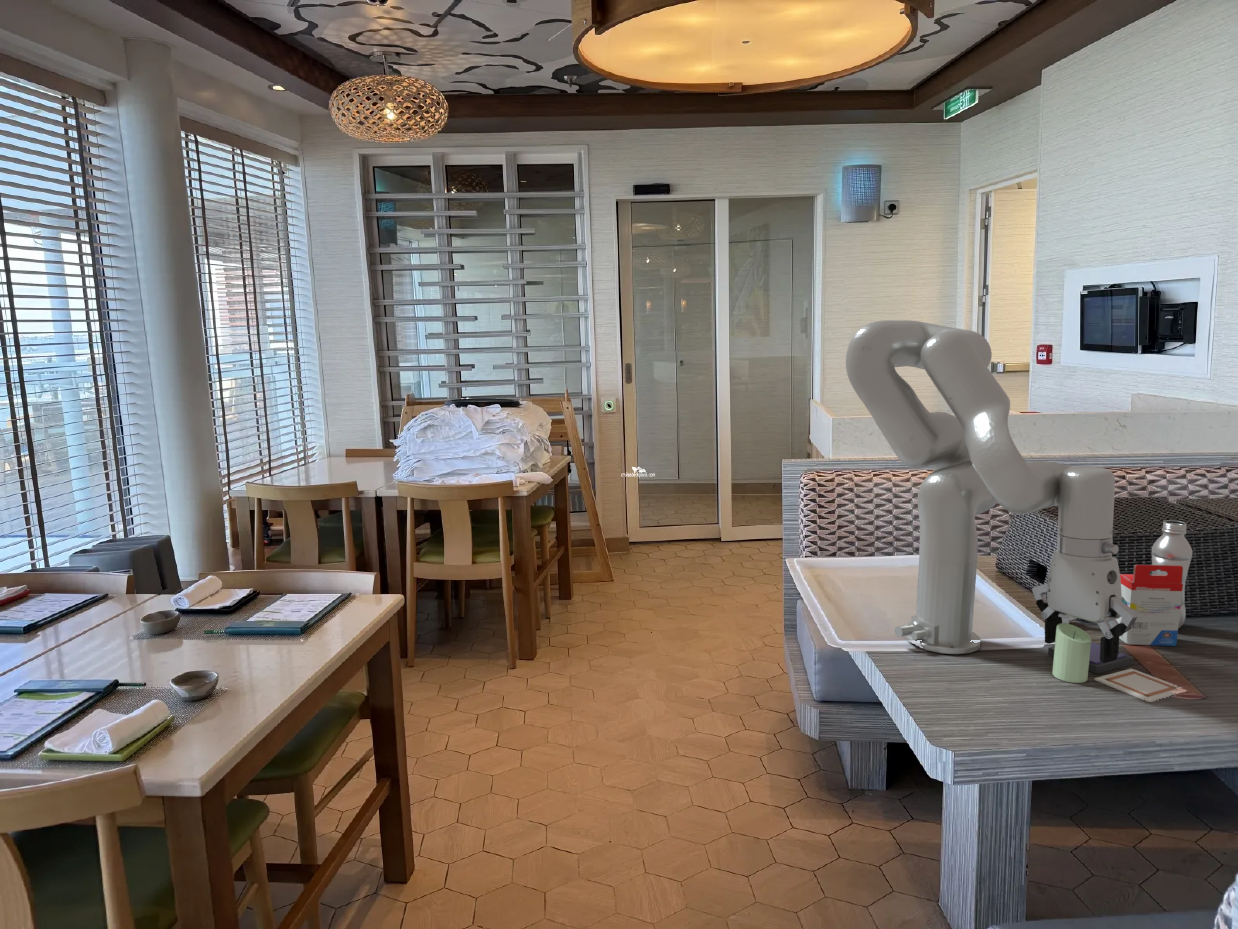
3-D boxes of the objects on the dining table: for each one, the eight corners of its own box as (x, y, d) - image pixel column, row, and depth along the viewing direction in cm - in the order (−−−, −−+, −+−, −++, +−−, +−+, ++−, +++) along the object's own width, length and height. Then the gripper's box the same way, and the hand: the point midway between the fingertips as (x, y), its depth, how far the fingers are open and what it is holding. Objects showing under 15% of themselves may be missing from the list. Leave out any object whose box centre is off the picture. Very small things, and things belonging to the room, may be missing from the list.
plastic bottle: (1183, 624, 159) (1195, 521, 156) (1184, 635, 154) (1196, 528, 150) (1143, 618, 163) (1154, 516, 159) (1143, 629, 157) (1154, 524, 154)
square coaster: (1149, 702, 127) (1150, 700, 127) (1094, 680, 135) (1094, 677, 135) (1187, 691, 131) (1187, 689, 131) (1131, 670, 139) (1131, 667, 139)
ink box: (1162, 636, 153) (1170, 558, 151) (1177, 646, 149) (1186, 566, 146) (1112, 635, 154) (1120, 557, 152) (1126, 645, 149) (1134, 565, 147)
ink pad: (1096, 673, 137) (1097, 665, 137) (1047, 654, 145) (1048, 645, 145) (1132, 664, 141) (1133, 655, 141) (1083, 645, 149) (1084, 637, 149)
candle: (1094, 679, 135) (1098, 630, 134) (1075, 686, 133) (1079, 636, 131) (1064, 668, 140) (1068, 620, 138) (1045, 674, 137) (1049, 626, 136)
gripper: (1154, 554, 126) (1148, 664, 128) (1052, 533, 142) (1048, 631, 144) (1121, 561, 123) (1115, 673, 125) (1020, 538, 139) (1017, 639, 141)
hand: (1079, 651), depth 135 cm, fingers open, 9 cm apart
